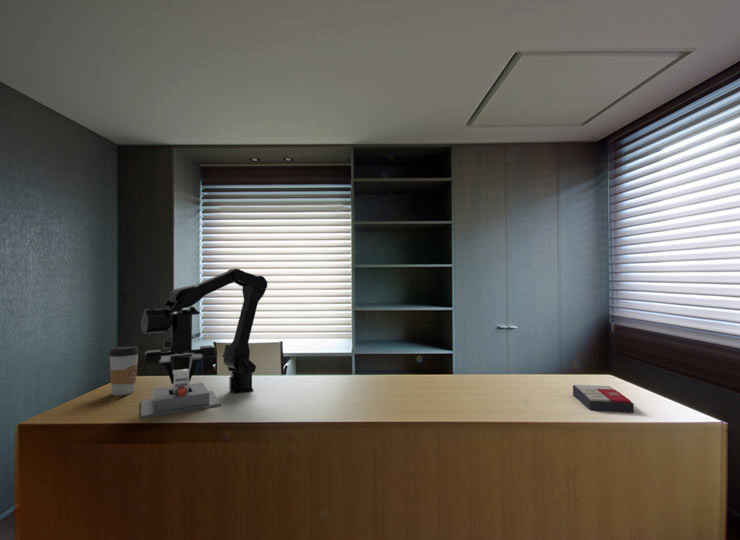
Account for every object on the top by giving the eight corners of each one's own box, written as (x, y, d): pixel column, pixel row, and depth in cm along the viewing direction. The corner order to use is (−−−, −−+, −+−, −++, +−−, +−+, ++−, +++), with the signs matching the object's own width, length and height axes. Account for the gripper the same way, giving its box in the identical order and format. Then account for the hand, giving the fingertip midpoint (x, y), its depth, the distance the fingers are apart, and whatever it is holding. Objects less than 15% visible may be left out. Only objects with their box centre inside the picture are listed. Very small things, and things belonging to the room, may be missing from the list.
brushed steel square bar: (187, 398, 113) (187, 368, 114) (188, 402, 110) (189, 371, 110) (172, 400, 111) (172, 370, 112) (173, 404, 107) (174, 373, 108)
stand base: (211, 393, 123) (212, 375, 123) (220, 406, 109) (221, 386, 109) (140, 403, 112) (141, 384, 112) (140, 418, 99) (141, 397, 99)
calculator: (590, 398, 104) (572, 382, 118) (590, 414, 104) (572, 396, 118) (634, 400, 101) (610, 384, 116) (634, 416, 101) (610, 397, 116)
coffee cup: (123, 397, 118) (124, 349, 119) (101, 396, 120) (102, 349, 121) (144, 390, 126) (145, 345, 127) (123, 389, 128) (124, 345, 129)
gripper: (210, 326, 123) (210, 373, 123) (145, 329, 114) (144, 381, 113) (216, 329, 114) (215, 380, 113) (145, 333, 104) (144, 389, 103)
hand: (180, 382), depth 111 cm, fingers closed on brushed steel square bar, 4 cm apart
